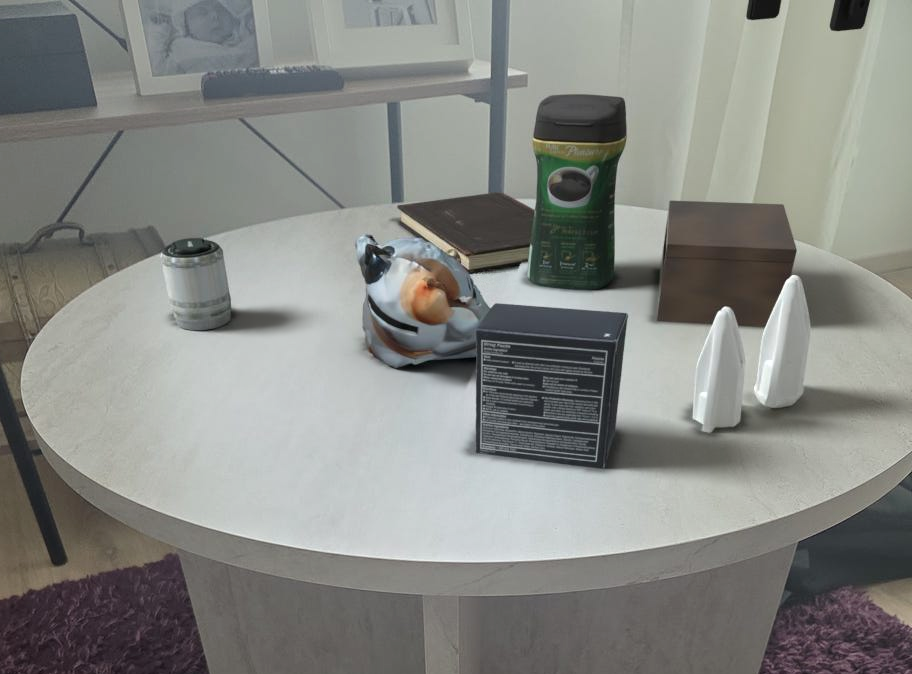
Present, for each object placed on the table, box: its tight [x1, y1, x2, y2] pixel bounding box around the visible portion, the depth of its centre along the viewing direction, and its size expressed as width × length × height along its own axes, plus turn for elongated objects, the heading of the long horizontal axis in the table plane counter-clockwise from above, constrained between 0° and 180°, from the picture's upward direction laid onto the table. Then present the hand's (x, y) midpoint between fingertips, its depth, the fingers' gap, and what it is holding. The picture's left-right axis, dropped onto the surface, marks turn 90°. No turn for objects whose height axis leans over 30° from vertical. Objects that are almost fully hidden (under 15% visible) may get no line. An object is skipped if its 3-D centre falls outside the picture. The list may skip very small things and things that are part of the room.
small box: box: [474, 302, 629, 470], centre depth 70 cm, size 11×6×10 cm, turn 73°
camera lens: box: [159, 237, 232, 331], centre depth 94 cm, size 6×6×8 cm
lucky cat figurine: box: [354, 233, 491, 369], centre depth 84 cm, size 15×12×14 cm
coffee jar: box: [527, 93, 628, 291], centre depth 98 cm, size 10×8×19 cm
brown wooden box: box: [656, 200, 798, 328], centre depth 96 cm, size 12×16×8 cm
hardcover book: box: [396, 191, 535, 274], centre depth 117 cm, size 16×23×2 cm
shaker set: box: [692, 274, 812, 434], centre depth 74 cm, size 12×4×11 cm, turn 118°
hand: (802, 23), depth 77 cm, fingers open, 9 cm apart
